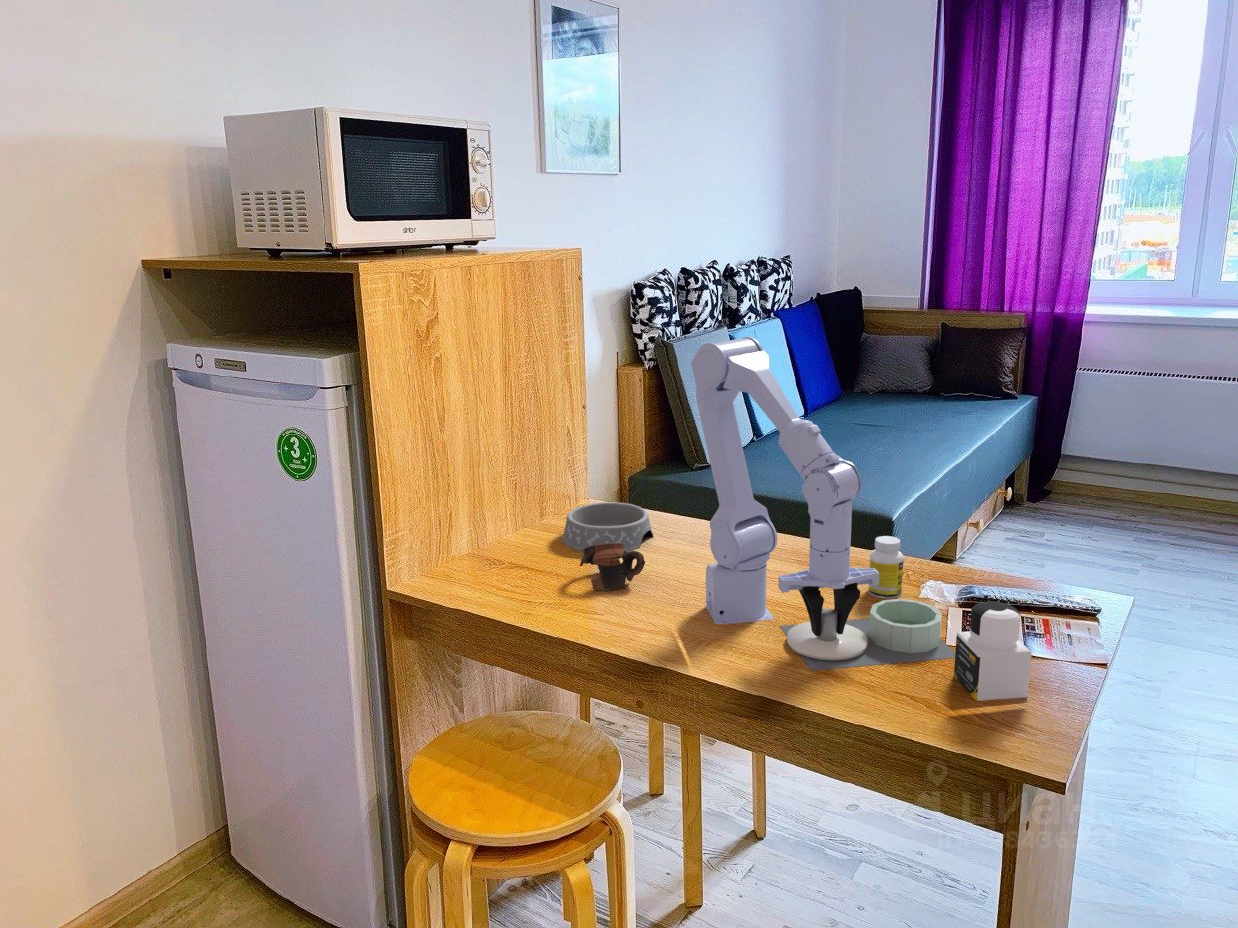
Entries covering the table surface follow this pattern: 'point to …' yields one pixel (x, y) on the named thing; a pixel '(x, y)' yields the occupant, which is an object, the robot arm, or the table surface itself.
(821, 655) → the lid
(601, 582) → the pottery mug
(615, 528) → the dog bowl
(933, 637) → the bowl
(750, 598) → the robot arm
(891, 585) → the supplement bottle
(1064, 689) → the table surface
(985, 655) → the medicine bottle
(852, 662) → the mat
